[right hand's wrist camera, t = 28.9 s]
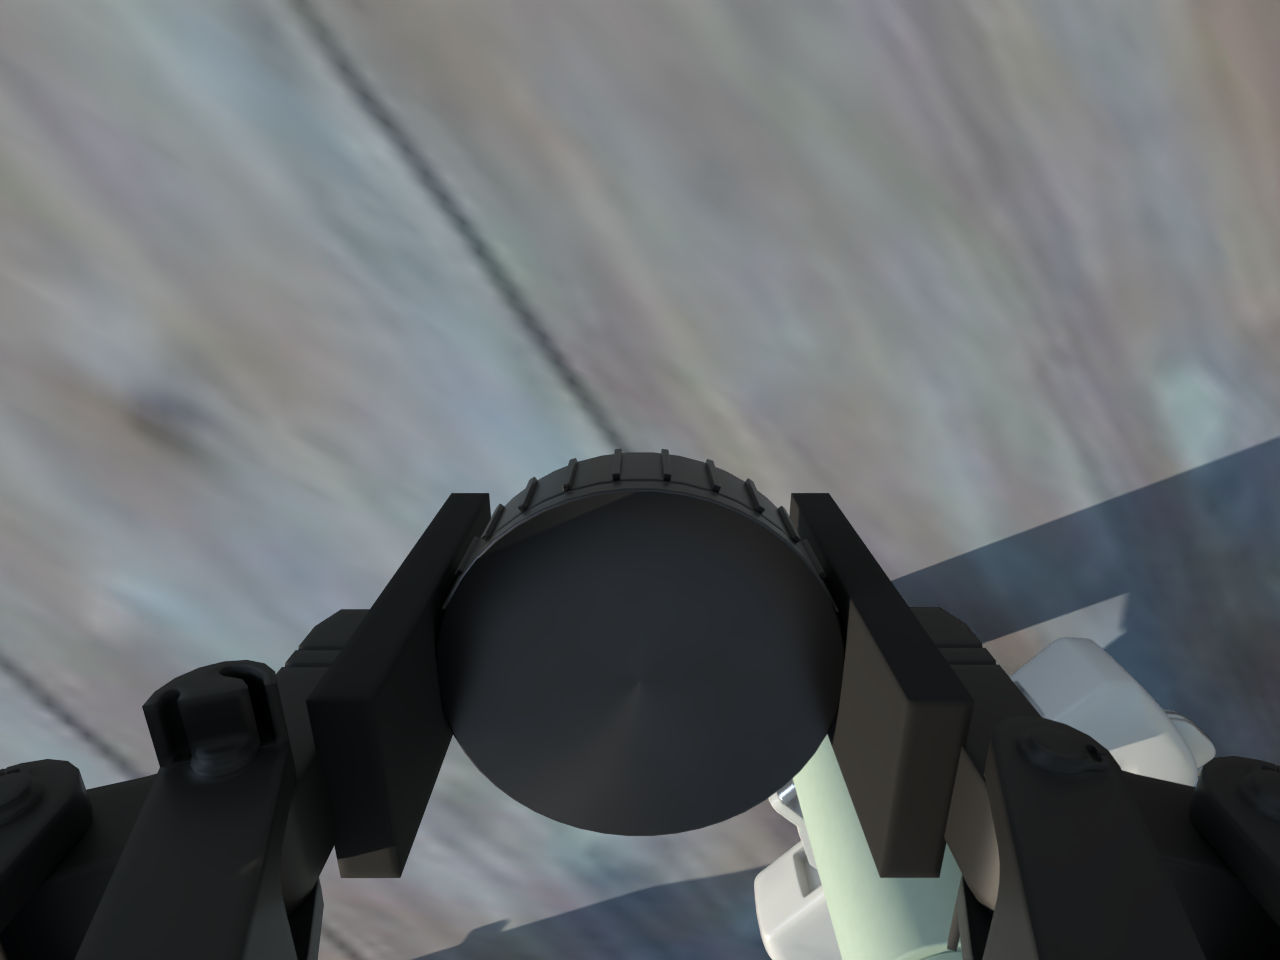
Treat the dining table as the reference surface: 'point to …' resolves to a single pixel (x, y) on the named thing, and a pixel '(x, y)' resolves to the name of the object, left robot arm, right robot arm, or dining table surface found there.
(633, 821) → the lid
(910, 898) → the bottle
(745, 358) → the dining table surface
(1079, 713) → the left robot arm
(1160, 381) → the dining table surface
